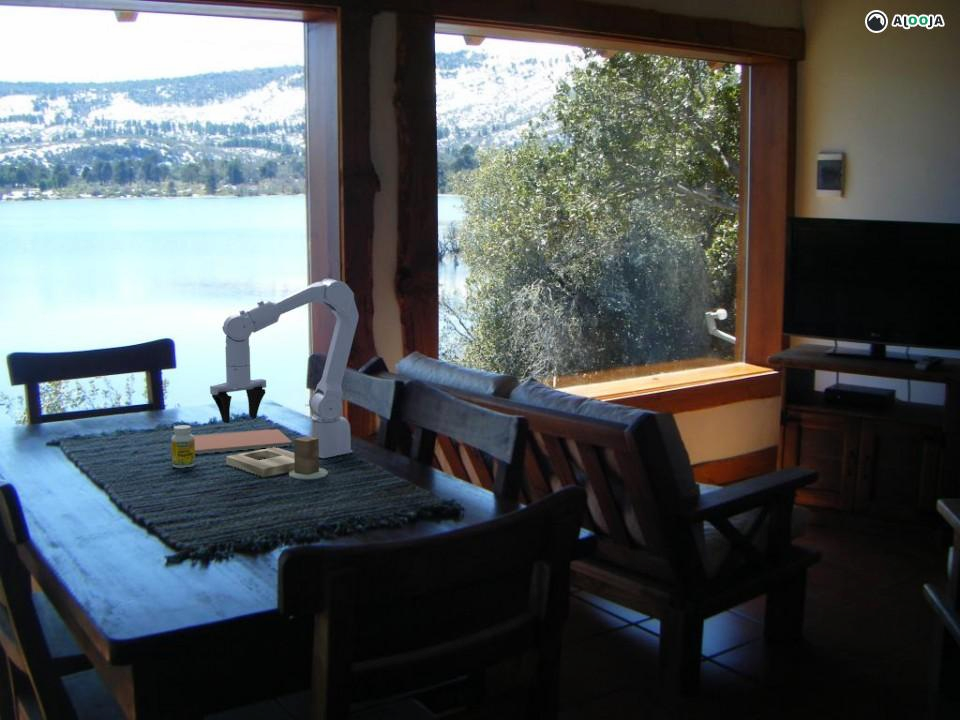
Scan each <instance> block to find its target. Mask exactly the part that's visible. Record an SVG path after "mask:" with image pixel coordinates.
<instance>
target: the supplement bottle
mask: <svg viewBox="0 0 960 720" xmlns="http://www.w3.org/2000/svg"><path fill="white" fill-rule="evenodd" d="M173 433H174V435H172V437H171V460H172V467H173V468H176V469H186V468H185V467H189V468H191V467H194V466H195V465H196V455H195V440H194V436H193V435H194V434H192V426H191V425H187V424H182V425H181V424H180V425H175V426H173Z"/></svg>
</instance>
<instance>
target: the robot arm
mask: <svg viewBox="0 0 960 720" xmlns="http://www.w3.org/2000/svg"><path fill="white" fill-rule="evenodd" d="M310 303H316V304H323V305H326V306H327V307H328V308H329V309H330V310H331V312H332V314H333V315H334V316H335V318H336V322H335V325H334V329H333V334H332V337H331V341H330V343H329V344H330V346H329V347H328V348H329V349H328V352H327V357H326V359H325V360H326V361H325V365H324V368H323V372H322V375H321V376H322V377H321V379H320V381H318V383H317V385H316V389H315V391H314V392H313V393H312V394H311V396H310V398H309V401H308V405H309V407H310V408H309V409H310V410H311V412H312V416H311V422H310V423H311V437H314V438H319V459H327V458H332V457H338V456H342V455H347V454H350V453H353V450H352V449H351V448H352V447H351V446H352V445H351V439H352V438H351V424H350V422H349V420H348V419H347V418H346V417H344V416H341V415H342V413H343V403H342V398H343V393H344V392H343V386H342V383H343V380H344V376H345V372H346V368H347V364H348V362H349V357H350V354H351V349H352V345H353V340H354V337H355V333H356V330H357V325H358V323H359V317H360V314H359V312H358V309H357V305H356V302H355V293H354V292H353V290H352V289H351V288H350V287H349V285H348V284H346V282H344V281H341V280H336V279H333V278H331V277H330V278H324V279H323V280H321V281H317V282H313V283H311V284H309V285H306V286H305V287H303V288H301V289H299V290H297V291H295V292H293V293H291V294H289V295H287V296H286V297H284V298H283V297H282V298H281V299H279V300H278V301H275V302H273V301H272V302H271V301H269V300H266V301H263V300H259V301H257V305H255V306H253V307H250V308H248V309H246V310H244V309H241V310H239V315H238V314H232V315H229V316H228V317H227V318H225V320H224V322H223V326H222V332H223V333H224V334H225V347H224V348H225V374H226V375H225V377H226V378H225V379H226V382H222V383H219V384H218V383H217V384H214V385H209V392H210V395H211V397H212V399H213V401H214V402H215V405H216V406H217V408H218V411H219V413H220V417H221V421H222V423H225V424H229V423H230V419H231V415H230V414H231V413H230V408H231V403H232V402H231V401H232V398H233V397H232V395H229V394H228V393H233V392H239V391H241V392H242V391H245V393H246V396H247V402H248V415H249V418H251V419H257V417H258V411H259V410H260V409H259V408H260V404H261V402H262V401H263V399H264V396H265V395H266V388H267V379H264V378H263V379H262V378H257V379H251V349H250V347H251V346H250V337H251V335H252V333H256V332H259V331H261V330H263V329H265V328H267V327H270V326H271V325H272V326H273V325H274V324H276V323H278V322H279V319H280V317H281V315H283V314H286V313H288V312H291V311H293V310H295V309H297V308H301V307H303V306H304V305H307V304H310ZM337 455H338V456H337Z"/></svg>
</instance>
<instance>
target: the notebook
mask: <svg viewBox="0 0 960 720" xmlns="http://www.w3.org/2000/svg"><path fill="white" fill-rule="evenodd" d="M192 435H193V436H194V440H195V454H198V455H204V454H203V453H209V454H216V453H215V452H220V453H227V452H226V451H232V452H238V451H237V450H243V451H249V450H248V449H254V450H261V449H260V448H266V449H267V448H271V447H277V448H284V447H283V446H288V447H291V443H293V441H292V440H291V439H290V438H288V437H287V435H285V434H284V433H283V432H282V431H281V430H279V429H276V428H275V429H270V428H267V429H266V428H265V429H255V430H254V429H252V430H244V431H243V430H242V431H236V432H235V431H233V432H232V431H229V432H227V431H226V432H220V433H219V432H217V433H216V432H215V433H209V434H208V433H207V434H206V433H204V434H202V433H201V434H195V435H194V434H192Z"/></svg>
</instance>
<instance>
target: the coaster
mask: <svg viewBox="0 0 960 720" xmlns="http://www.w3.org/2000/svg"><path fill="white" fill-rule="evenodd" d="M328 475H329V472H328V470H327V469H325V468H323V467H319V472H316V473H313V474H309V475H304V474H299V473H295V469H294V470H291V471H290V472H288V476H289V477H290V478H292V479H297V480H304V481H305V480H317V479H322V478H326V476H328Z"/></svg>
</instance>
